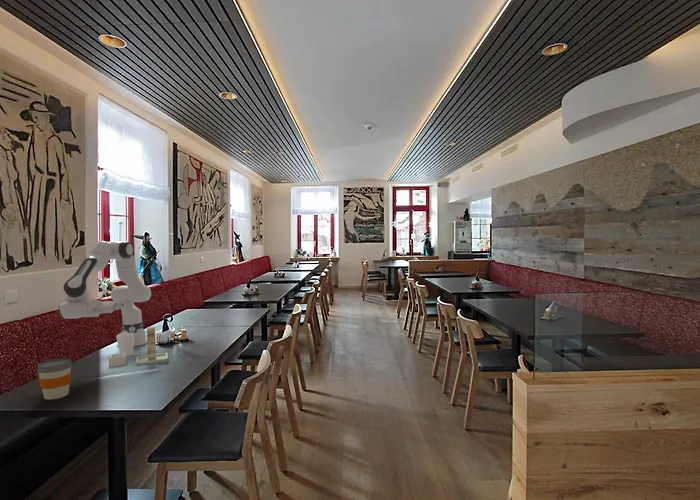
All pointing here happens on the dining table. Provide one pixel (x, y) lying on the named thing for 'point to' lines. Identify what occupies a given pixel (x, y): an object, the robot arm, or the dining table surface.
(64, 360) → the reusable coffee cup
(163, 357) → the tray
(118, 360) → the white square container
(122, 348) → the foam cup
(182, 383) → the dining table surface
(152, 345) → the tan wooden block
